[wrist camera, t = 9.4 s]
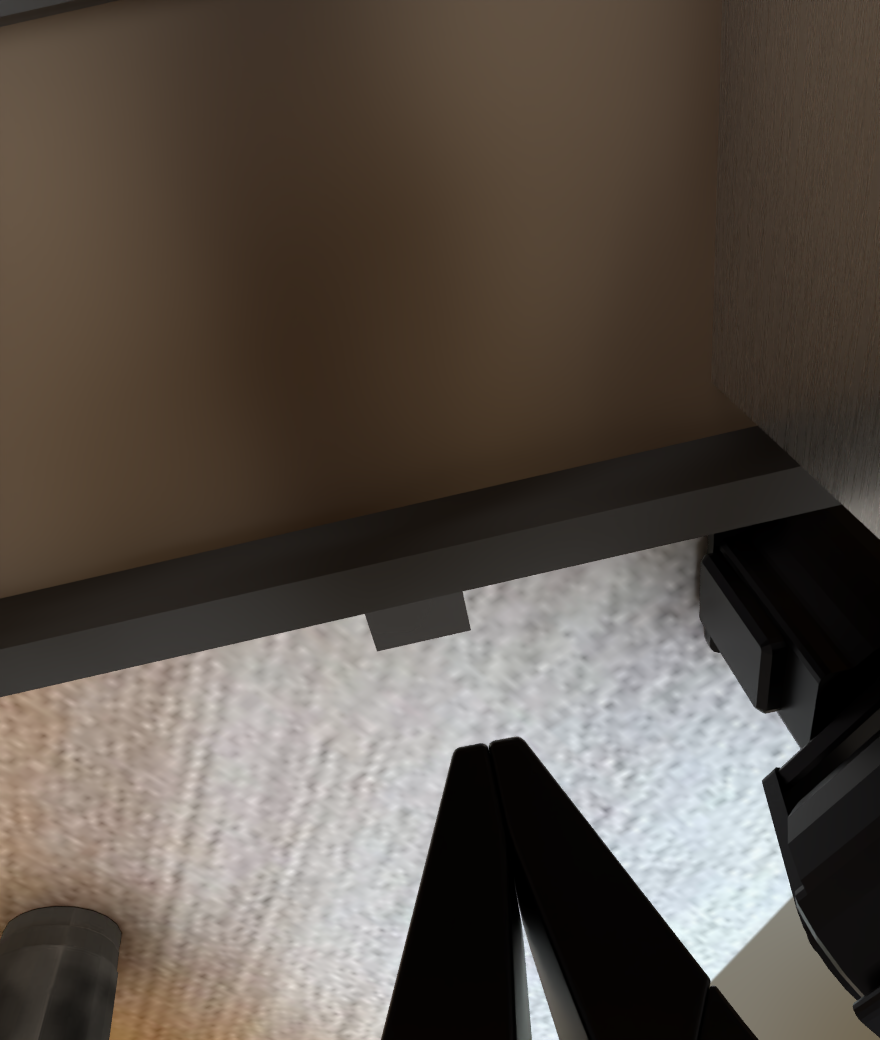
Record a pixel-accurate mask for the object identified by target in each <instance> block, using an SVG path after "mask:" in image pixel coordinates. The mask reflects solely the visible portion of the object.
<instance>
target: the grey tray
mask: <svg viewBox="0 0 880 1040" xmlns="http://www.w3.org/2000/svg"><path fill="white" fill-rule="evenodd" d="M721 28H722V0H0V697H3V696H8V695H12V694H16V693H21V692H25V691H29V690H34V689H38V688H43V687H47V686H51V685H56V684H60V683H64V682H69V681H73V680H77V679H82V678H86V677H91V676H95V675H99V674H104V673H108V672H112V671H117V670H121V669H125V668H130V667H134V666H139V665H143V664H147V663H152V662H156V661H160V660H165V659H169V658H174V657H178V656H182V655H187V654H191V653H195V652H200V651H204V650H208V649H213V648H217V647H222V646H226V645H230V644H235V643H239V642H243V641H248V640H252V639H257V638H261V637H265V636H270V635H274V634H278V633H283V632H287V631H291V630H296V629H300V628H305V627H309V626H313V625H318V624H322V623H326V622H331V621H335V620H339V619H344V618H348V617H353V616H357V615H361V614H366V613H370V612H374V611H379V610H383V609H388V608H392V607H396V606H401V605H405V604H409V603H414V602H418V601H422V600H427V599H431V598H436V597H440V596H444V595H449V594H453V593H457V592H462V591H466V590H470V589H475V588H479V587H484V586H488V585H492V584H497V583H501V582H505V581H510V580H514V579H519V578H523V577H527V576H532V575H536V574H540V573H545V572H549V571H553V570H558V569H562V568H567V567H571V566H575V565H580V564H584V563H588V562H593V561H597V560H602V559H606V558H610V557H615V556H619V555H623V554H628V553H632V552H636V551H641V550H645V549H650V548H654V547H658V546H663V545H667V544H671V543H676V542H680V541H684V540H689V539H693V538H698V537H702V536H706V535H711V534H715V533H719V532H724V531H728V530H733V529H737V528H741V527H746V526H750V525H754V524H759V523H763V522H767V521H772V520H776V519H781V518H785V517H789V516H794V515H798V514H802V513H807V512H811V511H816V510H820V509H824V508H829V507H833V506H837V505H842V504H841V503H840V502H839V501H838V500H837V499H836V498H835V497H834V496H833V495H832V494H831V493H830V492H828V491H827V490H826V489H825V488H824V487H823V486H822V485H821V484H820V483H819V482H818V481H817V480H816V479H815V478H813V477H812V476H811V475H810V474H809V473H808V472H807V471H806V470H805V469H804V468H803V467H802V466H801V465H800V464H799V463H797V462H796V461H795V460H794V459H793V458H792V457H791V456H790V455H789V454H788V453H787V452H786V451H785V450H784V449H782V448H781V447H780V446H779V445H778V444H777V443H776V442H775V441H774V440H773V439H772V438H771V437H770V436H769V435H768V434H766V433H765V432H764V431H763V430H762V429H761V428H760V427H759V426H758V425H757V424H756V423H755V422H754V421H753V420H751V419H750V418H749V417H748V416H747V415H746V414H745V413H744V412H743V411H742V410H741V409H740V408H739V407H738V406H737V405H735V404H734V403H733V402H732V401H731V400H730V399H729V398H728V397H727V396H726V395H725V394H724V393H723V392H722V391H720V390H719V389H718V388H717V387H716V386H715V385H714V384H713V383H712V382H711V373H712V339H713V304H714V270H715V235H716V201H717V166H718V132H719V97H720V63H721Z"/></svg>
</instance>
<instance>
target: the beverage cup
mask: <svg viewBox="0 0 880 1040" xmlns="http://www.w3.org/2000/svg"><path fill="white" fill-rule="evenodd" d="M121 934H122V933H121V932H120V930H119V928H118V926H117V924H115V923H114V922H113V921H112V920H110V919H109V918H108V917H106V916H104V915H101V914H99V913H96V912H94V911H91V910H86V909H81V908H76V907H49V908H42V909H36V910H33V911H30V912H27V913H24V914H21V915H19V916H18V917H16V918H15V919H13V920H12V921H10V922H9V923H8V925H7V926H6V928H5V930H4V931H3V934H2V937H1V940H0V1040H109V1037H110V1029H111V1022H112V1014H113V1007H114V1000H115V992H116V985H117V977H118V972H117V964H118V955H119V947H120V942H121Z"/></svg>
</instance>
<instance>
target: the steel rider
mask: <svg viewBox="0 0 880 1040" xmlns="http://www.w3.org/2000/svg"><path fill="white" fill-rule="evenodd" d="M711 382H712V383H713V384H714V385H715V386H716V387H717V388H718V389H719V390H720V391H722V392H723V393H724V394H725V395H726V396H727V397H728V398H729V399H730V400H731V401H732V402H733V403H734V404H735V405H737V406H738V407H739V408H740V409H741V410H742V411H743V412H744V413H745V414H746V415H747V416H748V417H749V418H750V419H751V420H753V421H754V422H755V423H756V424H757V425H758V426H759V427H760V428H761V429H762V430H763V431H764V432H765V433H766V434H768V435H769V436H770V437H771V438H772V439H773V440H774V441H775V442H776V443H777V444H778V445H779V446H780V447H781V448H782V449H784V450H785V451H786V452H787V453H788V454H789V455H790V456H791V457H792V458H793V459H794V460H795V461H796V462H797V463H799V464H800V465H801V466H802V467H803V468H804V469H805V470H806V471H807V472H808V473H809V474H810V475H811V476H812V477H813V478H815V479H816V480H817V481H818V482H819V483H820V484H821V485H822V486H823V487H824V488H825V489H826V490H827V491H828V492H830V493H831V494H832V495H833V496H834V497H835V498H836V499H837V500H838V501H839V502H840V503H841V504H842V505H843V506H844V507H846V508H847V509H848V510H849V511H850V512H851V513H852V514H853V515H854V516H855V517H856V518H857V519H858V520H859V521H860V522H862V523H863V524H864V525H865V526H866V527H867V528H868V529H869V530H870V531H871V532H872V533H873V534H874V535H875V536H877V537H878V538H879V539H880V0H722V28H721V63H720V97H719V132H718V166H717V201H716V235H715V270H714V304H713V339H712V373H711Z"/></svg>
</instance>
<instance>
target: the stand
mask: <svg viewBox="0 0 880 1040" xmlns="http://www.w3.org/2000/svg"><path fill="white" fill-rule="evenodd" d="M365 616H366V619H367V622H368V625H369V628H370V631H371V634H372V637H373V640H374V643H375V646H376V649H377V651H381V650H385V649H390V648H394V647H399V646H403V645H408V644H412V643H416V642H421V641H425V640H430V639H434V638H439V637H443V636H448V635H452V634H456V633H461V632H465V631H470V630H471V629H470V624H469V619H468V615H467V610H466V606H465V601H464V597H463V592H457V593H453V594H449V595H444V596H440V597H436V598H431V599H427V600H422V601H418V602H414V603H409V604H405V605H401V606H396V607H392V608H388V609H383V610H379V611H374V612H370V613H366V614H365Z"/></svg>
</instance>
